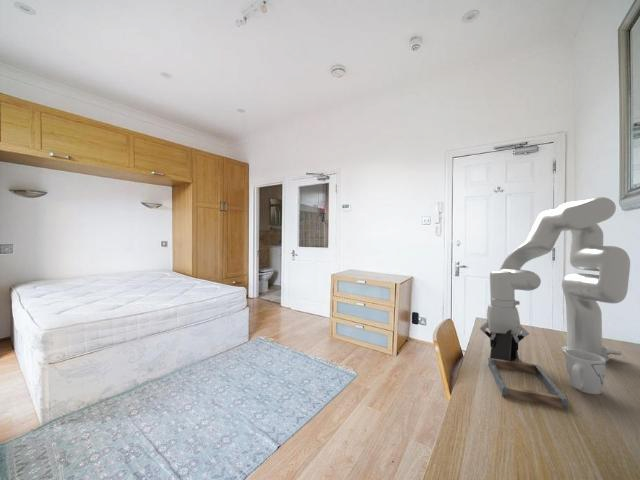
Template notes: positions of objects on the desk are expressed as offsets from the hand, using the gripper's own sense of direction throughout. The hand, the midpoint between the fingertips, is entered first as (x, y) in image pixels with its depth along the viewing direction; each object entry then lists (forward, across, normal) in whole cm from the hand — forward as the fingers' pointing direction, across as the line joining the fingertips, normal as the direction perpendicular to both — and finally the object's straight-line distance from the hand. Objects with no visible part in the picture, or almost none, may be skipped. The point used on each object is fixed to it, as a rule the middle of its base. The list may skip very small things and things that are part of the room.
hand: (504, 350), depth 96 cm
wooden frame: (+3, -1, +18) cm, 18 cm away
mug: (+4, -16, +16) cm, 23 cm away
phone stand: (+3, 0, 0) cm, 3 cm away
